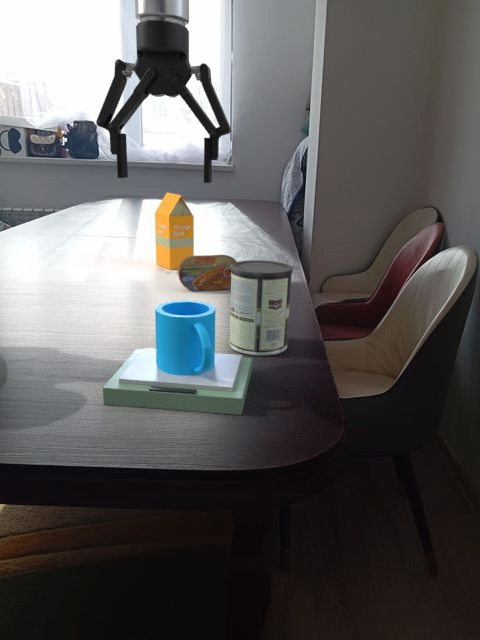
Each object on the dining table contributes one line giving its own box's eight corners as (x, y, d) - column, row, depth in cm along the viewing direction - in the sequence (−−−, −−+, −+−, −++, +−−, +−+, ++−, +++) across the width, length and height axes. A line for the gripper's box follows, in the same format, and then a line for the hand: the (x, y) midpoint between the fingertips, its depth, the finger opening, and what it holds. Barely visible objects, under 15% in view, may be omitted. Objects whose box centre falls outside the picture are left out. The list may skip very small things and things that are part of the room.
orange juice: (179, 261, 154) (179, 192, 147) (194, 267, 147) (194, 195, 140) (155, 264, 149) (153, 192, 142) (169, 270, 143) (168, 195, 136)
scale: (103, 404, 66) (102, 383, 65) (136, 363, 80) (135, 345, 78) (241, 415, 66) (242, 394, 65) (251, 372, 79) (252, 354, 78)
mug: (148, 357, 74) (147, 303, 71) (201, 350, 78) (201, 298, 75) (179, 390, 64) (178, 329, 62) (236, 380, 68) (239, 322, 65)
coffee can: (250, 332, 97) (253, 257, 92) (297, 344, 91) (304, 266, 86) (216, 346, 88) (218, 265, 83) (266, 361, 83) (271, 275, 78)
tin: (179, 292, 121) (179, 256, 118) (176, 288, 124) (176, 254, 121) (239, 289, 127) (241, 255, 124) (235, 286, 129) (236, 252, 126)
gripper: (251, 34, 76) (245, 183, 84) (87, 27, 78) (96, 174, 85) (246, 21, 69) (240, 185, 77) (66, 14, 71) (78, 176, 78)
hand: (165, 180), depth 81 cm, fingers open, 13 cm apart
